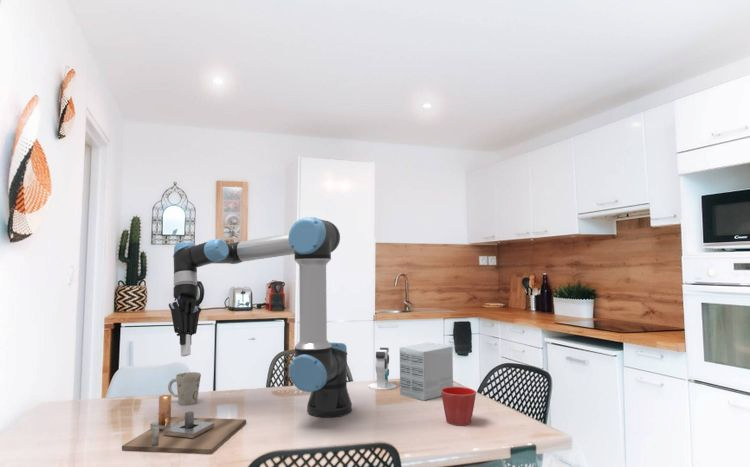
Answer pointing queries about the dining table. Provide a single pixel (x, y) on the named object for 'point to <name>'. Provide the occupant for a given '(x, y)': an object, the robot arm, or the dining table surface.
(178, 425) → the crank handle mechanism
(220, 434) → the post board
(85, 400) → the dining table surface
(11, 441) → the dining table surface
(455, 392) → the flower pot
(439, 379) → the gray vented cabinet
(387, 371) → the white grey upright piece
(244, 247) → the robot arm
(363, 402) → the dining table surface
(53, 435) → the dining table surface
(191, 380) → the mug
